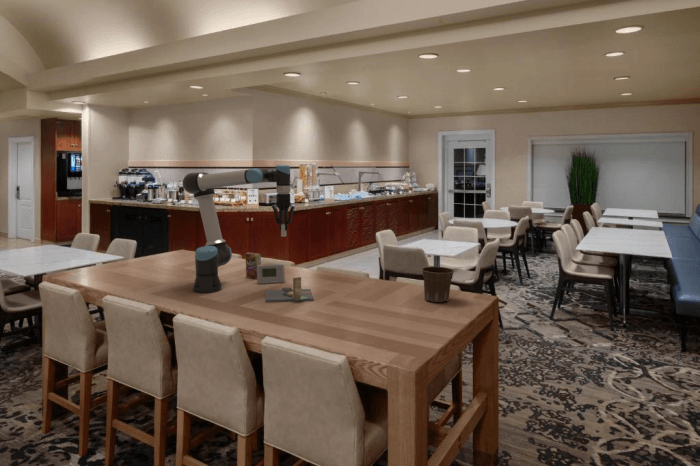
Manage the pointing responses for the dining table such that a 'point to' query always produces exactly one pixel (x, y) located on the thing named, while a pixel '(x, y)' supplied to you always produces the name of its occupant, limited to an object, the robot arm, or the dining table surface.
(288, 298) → the dial board
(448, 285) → the plant pot
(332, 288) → the dining table surface
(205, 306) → the dining table surface
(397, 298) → the dining table surface
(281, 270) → the digital clock
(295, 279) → the lever
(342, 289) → the dining table surface
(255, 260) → the candy box
